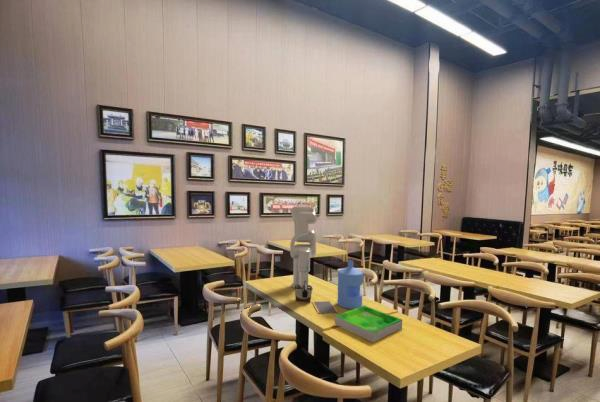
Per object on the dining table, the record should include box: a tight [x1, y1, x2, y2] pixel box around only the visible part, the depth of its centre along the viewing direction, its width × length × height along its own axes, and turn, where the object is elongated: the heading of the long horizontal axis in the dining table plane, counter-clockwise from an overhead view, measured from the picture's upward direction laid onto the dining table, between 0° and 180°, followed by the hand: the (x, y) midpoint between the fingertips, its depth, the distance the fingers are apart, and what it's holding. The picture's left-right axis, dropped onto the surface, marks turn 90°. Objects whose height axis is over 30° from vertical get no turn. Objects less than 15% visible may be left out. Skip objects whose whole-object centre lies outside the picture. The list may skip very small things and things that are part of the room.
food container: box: [293, 284, 313, 304], centre depth 198 cm, size 12×6×10 cm, turn 84°
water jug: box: [337, 259, 364, 310], centre depth 192 cm, size 16×16×28 cm
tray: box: [334, 305, 403, 343], centre depth 162 cm, size 25×25×5 cm
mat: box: [311, 300, 339, 315], centre depth 187 cm, size 18×12×1 cm, turn 9°
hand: (303, 294), depth 198 cm, fingers open, 9 cm apart
